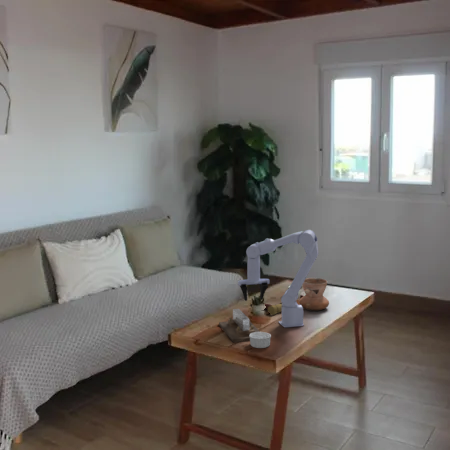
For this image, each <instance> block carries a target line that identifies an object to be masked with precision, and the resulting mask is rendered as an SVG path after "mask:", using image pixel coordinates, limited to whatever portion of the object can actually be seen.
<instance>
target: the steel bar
mask: <svg viewBox="0 0 450 450" xmlns="http://www.w3.org/2000/svg"><path fill="white" fill-rule="evenodd" d="M232 319H233V320H234V322H235V323H236V324H237V325H238V326H239V327H240V328H241V329H242V330H243V331H249V321H250V318H249V317H248V316H247V315H246V314H245V313H244V312H243V311H242V310H241V309H240V308H233V309H232Z"/></svg>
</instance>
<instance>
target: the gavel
mask: <svg viewBox="0 0 450 450" xmlns="http://www.w3.org/2000/svg"><path fill="white" fill-rule="evenodd" d="M251 303H252V302H249V304H250V305H251ZM263 303H264V302H263ZM264 304H265V306H266V309H265V310H267V312H268V311H269V312H270V314H269V315H271V316H276V315H277V314H279V313H282V302H280V303H278V304H268V303H264Z"/></svg>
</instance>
